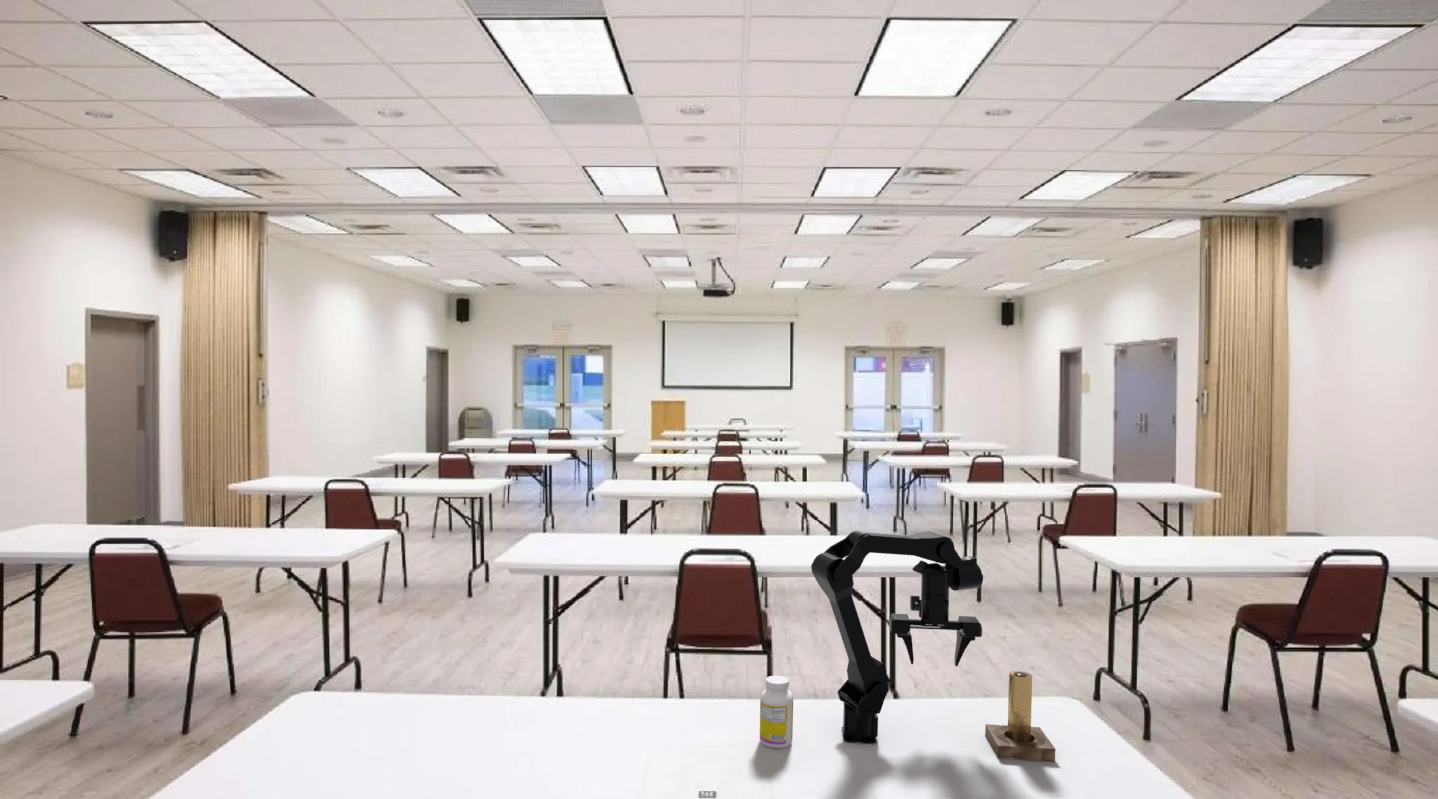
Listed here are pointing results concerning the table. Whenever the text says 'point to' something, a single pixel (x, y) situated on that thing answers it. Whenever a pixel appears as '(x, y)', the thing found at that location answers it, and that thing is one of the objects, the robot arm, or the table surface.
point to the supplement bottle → (776, 713)
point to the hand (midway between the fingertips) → (933, 664)
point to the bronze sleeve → (1019, 706)
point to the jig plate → (1019, 744)
